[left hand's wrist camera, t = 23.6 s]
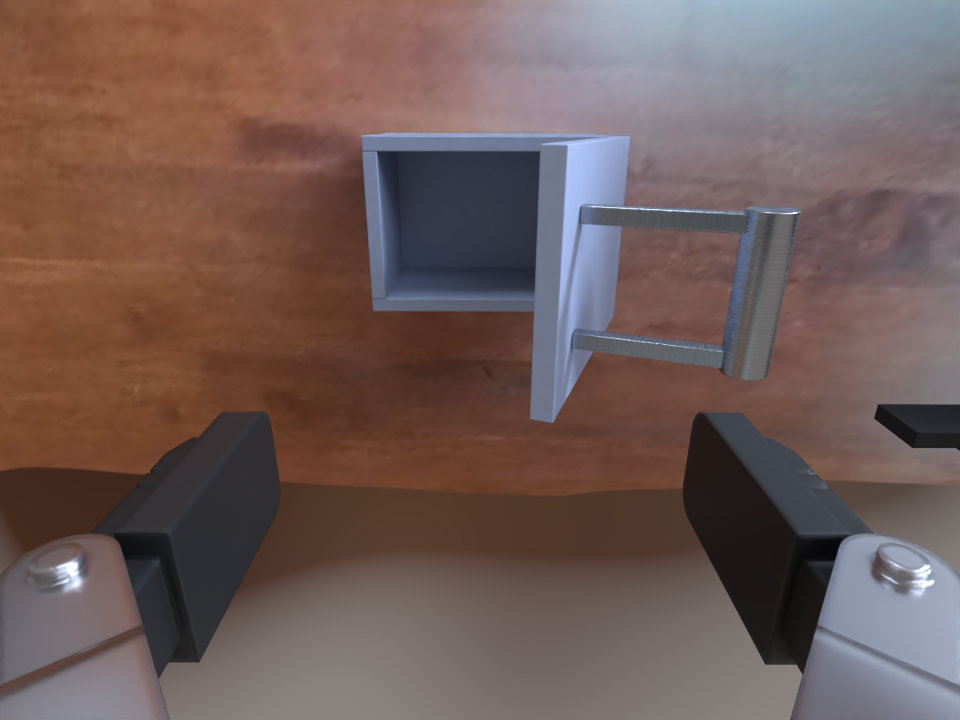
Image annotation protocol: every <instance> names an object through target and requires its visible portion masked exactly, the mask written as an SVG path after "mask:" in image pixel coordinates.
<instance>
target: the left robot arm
mask: <svg viewBox="0 0 960 720" xmlns="http://www.w3.org/2000/svg"><path fill="white" fill-rule="evenodd" d="M279 499H280V482H279V475H278V468H277V462H276V455H275V448H274V442H273V435H272V428H271V423H270V419H269V417H268V415H267V414H266V413H265V412H222V413H221V414H220V415H219V416H218V417H217V418H216V419H215V420H214V421H213V422H212V423H211V425H210V426H209V427H208V428H207V429H206V430H205V431H204V432H203V433H202V435H201V436H200V437H199V438H191V439H189V440H187V441H186V442H184V443H182V444H181V445H179V446H177V447H175V448H174V449H172V450H170V451H168V452H167V453H166V454H165V455H164V456H163V457H162V458H161V459H160V460H159V461H158V462H157V463H156V464H155V465H154V466H153V468H152V469H151V472H150V473H147V474H146V475H145V476H144V477H143V478H142V479H141V480H140V481H139V482H138V483H137V487H136V488H133V489H132V490H131V491H130V492H129V493H128V494H127V495H126V496H125V497H124V498H123V499H122V500H121V501H120V502H119V503H118V504H117V505H116V506H115V507H114V508H113V509H112V511H111V512H110V513H109V514H108V515H107V516H106V517H105V518H104V519H103V520H102V521H101V522H100V523H99V524H98V525H97V526H96V527H95V528H94V529H93V530H92V531H91V532H90V534H80V535H74V536H69V537H65V538H62V539H58V540H55V541H53V542H50V543H47V544H45V545H42V546H40V547H38V548H36V549H34V550H32V551H30V552H28V553H27V554H25V555H23V556H22V557H20V558H19V559H17V560H16V561H15V562H13V563H12V564H11V565H9V566H8V567H7V568H6V569H5V570H4V571H3V572H2V573H1V575H0V720H170V718H169V715H168V711H167V708H166V704H165V701H164V697H163V694H162V690H161V687H160V683H159V680H158V679H159V677H160V676H161V674H162V672H163V671H164V669H165V667H166V665H167V664H168V662H200V660H201V658H202V656H203V654H204V652H205V650H206V648H207V646H208V644H209V643H210V641H211V639H212V637H213V635H214V633H215V631H216V629H217V627H218V625H219V624H220V622H221V620H222V618H223V616H224V614H225V612H226V610H227V608H228V606H229V604H230V602H231V601H232V599H233V597H234V595H235V593H236V591H237V589H238V587H239V585H240V583H241V581H242V579H243V577H244V576H245V574H246V572H247V570H248V568H249V566H250V564H251V562H252V560H253V558H254V556H255V555H256V553H257V551H258V549H259V547H260V545H261V543H262V541H263V539H264V537H265V535H266V533H267V532H268V530H269V528H270V526H271V524H272V522H273V520H274V518H275V516H276V513H277V510H278V506H279ZM683 500H684V506H685V511H686V514H687V517H688V519H689V521H690V523H691V525H692V527H693V529H694V530H695V532H696V534H697V536H698V538H699V540H700V542H701V544H702V546H703V547H704V549H705V551H706V553H707V555H708V557H709V559H710V561H711V563H712V564H713V566H714V568H715V570H716V572H717V574H718V576H719V578H720V580H721V581H722V583H723V585H724V587H725V589H726V591H727V593H728V595H729V597H730V599H731V600H732V602H733V604H734V606H735V608H736V610H737V612H738V614H739V616H740V617H741V619H742V621H743V623H744V625H745V627H746V629H747V631H748V633H749V634H750V636H751V638H752V640H753V642H754V644H755V646H756V648H757V650H758V652H759V653H760V655H761V657H762V659H763V661H764V663H765V664H766V665H771V664H772V665H774V664H775V665H781V664H782V665H797V666H798V668H799V669H800V671H801V673H802V674H803V676H802V680H801V683H800V687H799V690H798V694H797V697H796V701H795V704H794V708H793V711H792V715H791V718H790V720H960V575H959V573H958V572H957V571H956V570H955V569H954V568H953V567H952V566H951V565H949V564H948V563H947V562H945V561H944V560H943V559H941V558H940V557H938V556H937V555H935V554H933V553H932V552H930V551H928V550H926V549H924V548H922V547H920V546H918V545H915V544H913V543H910V542H908V541H905V540H902V539H898V538H895V537H891V536H886V535H879V534H874V533H873V532H872V531H871V530H870V529H869V528H868V527H867V526H866V525H865V524H864V523H863V522H862V521H861V519H860V518H859V517H858V516H857V515H856V514H855V513H854V512H853V511H852V510H851V509H850V508H849V507H848V506H847V505H846V504H845V503H844V502H843V501H842V500H841V499H840V498H839V497H838V496H837V495H836V494H835V493H834V491H833V490H832V489H828V485H827V484H826V483H825V482H824V481H823V480H822V479H821V478H820V477H819V476H818V475H817V474H814V471H813V470H812V469H811V468H810V467H809V465H808V464H807V463H806V462H805V461H804V460H803V459H802V458H801V457H800V456H799V455H798V454H797V453H795V452H793V451H792V450H790V449H788V448H787V447H785V446H783V445H781V444H780V443H778V442H776V441H774V440H773V439H765V438H764V437H763V436H762V435H761V434H760V432H759V431H758V430H757V429H756V428H755V427H754V426H753V425H752V424H751V423H750V421H749V420H748V419H747V418H746V417H745V416H744V415H743V414H741V413H698V414H697V415H696V416H695V418H694V421H693V425H692V431H691V437H690V444H689V450H688V457H687V463H686V470H685V476H684V483H683Z"/></svg>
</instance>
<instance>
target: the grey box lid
mask: <svg viewBox="0 0 960 720" xmlns="http://www.w3.org/2000/svg"><path fill="white" fill-rule="evenodd" d="M629 145H630V137H629V136H612V137H603V138H593V139H583V140H574V141H564V142H555V143H545V144H541V145H540V167H539V193H538V219H537V245H536V270H535V296H534V322H533V348H532V374H531V400H530V419H532V420H538V421H544V422H549V423H553V422H554V420H555V418H556V416H557V415H558V413H559V411H560V409H561V408H562V406H563V404H564V402H565V400H566V399H567V397H568V395H569V393H570V392H571V390H572V388H573V386H574V385H575V383H576V381H577V379H578V377H579V376H580V374H581V372H582V370H583V369H584V367H585V365H586V363H587V362H588V360H589V358H590V356H591V355H592V353H593V351H594V352H602V353H609V354H617V355H624V356H632V357H640V358H647V359H655V360H663V361H670V362H678V363H685V364H693V365H701V366H708V367H716V368H719V370H720V372H722V373H723V374H725V375H727V376H729V377H732V378H736V379H741V380H750V381H755V380H762V379H764V378H766V377H767V375H768V371H769V366H770V361H771V356H772V351H773V346H774V341H775V337H776V332H777V327H778V322H779V317H780V312H781V307H782V302H783V297H784V292H785V287H786V282H787V278H788V273H789V268H790V263H791V258H792V253H793V248H794V243H795V238H796V233H797V228H798V223H799V219H800V214H801V212H800V210H797V209H793V208H786V207H775V206H752V207H747V208H746V209H745V211H729V210H708V209H687V208H666V207H645V206H624V199H625V188H626V177H627V167H628V156H629ZM622 227H637V228H654V229H671V230H688V231H704V232H721V233H738V234H741V237H740V243H739V249H738V255H737V261H736V267H735V273H734V278H733V284H732V290H731V296H730V302H729V308H728V314H727V320H726V326H725V332H724V338H723V344H722V346H719V345H711V344H702V343H694V342H686V341H677V340H669V339H661V338H652V337H644V336H636V335H627V334H619V333H610V332H605V330H606V328H607V326H608V325H609V323H610V321H611V319H612V317H613V316H614V308H615V297H616V286H617V275H618V264H619V253H620V243H621V232H622Z"/></svg>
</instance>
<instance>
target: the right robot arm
mask: <svg viewBox="0 0 960 720" xmlns="http://www.w3.org/2000/svg"><path fill="white" fill-rule="evenodd" d="M874 419H876V420H877V421H878V422H879V423H881V424H882V425H883V426H885V427H886V428H887V429H889V430H890V431H891V432H892V433H894V434H895V435H896V436H898V437H899V438H900V439H902V440H903V441H904V442H905V443H907V444H908V445H909V446H911V447H912V448H957V449H958V450H960V405H916V404H878V407H877V410H876V414H875V417H874Z"/></svg>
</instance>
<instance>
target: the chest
mask: <svg viewBox="0 0 960 720" xmlns="http://www.w3.org/2000/svg"><path fill="white" fill-rule="evenodd" d="M603 137H612V136H610V135H598V134H560V133H384V134H373V135H363V136H361V145H362V151H363V152H362V161H363V175H364V190H365V204H366V218H367V233H368V247H369V262H370V276H371V291H372V298H373V299H372V304H373V311H476V312H534V296H535V270H536V245H537V219H538V193H539V167H540V145H541V144H545V143H555V142H564V141H574V140H583V139H593V138H603Z"/></svg>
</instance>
